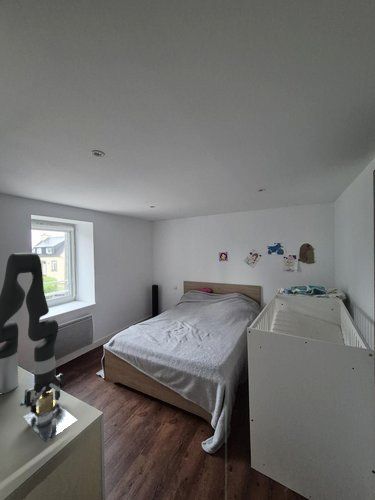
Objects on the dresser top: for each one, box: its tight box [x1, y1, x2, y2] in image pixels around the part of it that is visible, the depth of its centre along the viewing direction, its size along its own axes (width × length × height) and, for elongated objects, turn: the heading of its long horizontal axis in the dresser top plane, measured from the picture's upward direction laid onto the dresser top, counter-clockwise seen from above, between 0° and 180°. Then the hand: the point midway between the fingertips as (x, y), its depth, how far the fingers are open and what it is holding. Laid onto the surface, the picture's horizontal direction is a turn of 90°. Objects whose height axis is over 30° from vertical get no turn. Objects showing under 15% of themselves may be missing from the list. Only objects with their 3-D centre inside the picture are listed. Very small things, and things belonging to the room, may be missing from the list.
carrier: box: [22, 403, 78, 443], centre depth 81 cm, size 21×11×5 cm, turn 57°
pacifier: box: [20, 391, 38, 405], centre depth 93 cm, size 7×6×6 cm
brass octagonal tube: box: [36, 390, 58, 415], centre depth 86 cm, size 7×7×6 cm
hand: (46, 405), depth 86 cm, fingers open, 8 cm apart
